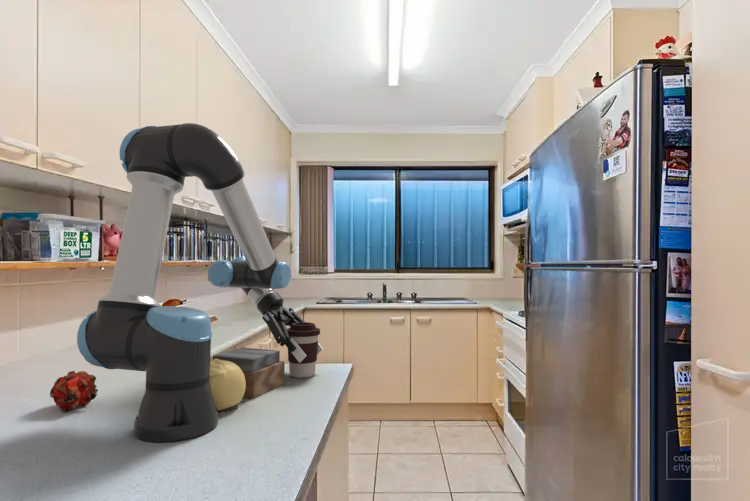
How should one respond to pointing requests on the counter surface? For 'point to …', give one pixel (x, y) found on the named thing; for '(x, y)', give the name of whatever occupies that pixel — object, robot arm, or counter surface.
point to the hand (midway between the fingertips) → (311, 355)
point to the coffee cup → (304, 349)
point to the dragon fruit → (74, 390)
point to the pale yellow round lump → (226, 383)
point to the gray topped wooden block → (257, 369)
